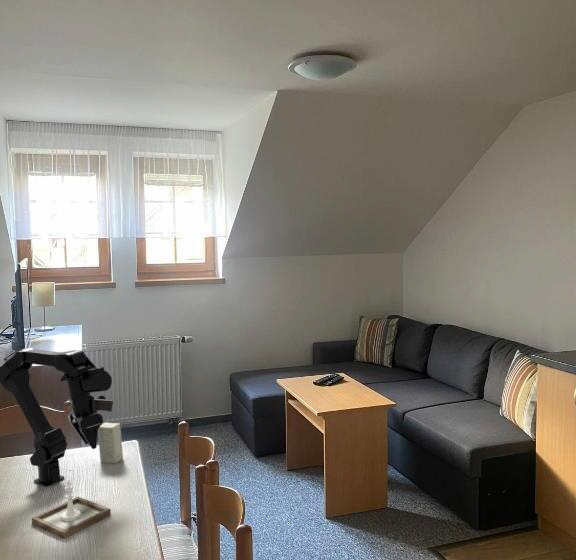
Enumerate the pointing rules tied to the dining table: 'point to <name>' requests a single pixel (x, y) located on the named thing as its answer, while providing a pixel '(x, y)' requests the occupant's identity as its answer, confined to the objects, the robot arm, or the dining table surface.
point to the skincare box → (110, 442)
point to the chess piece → (70, 506)
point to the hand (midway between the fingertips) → (90, 446)
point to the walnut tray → (67, 528)
